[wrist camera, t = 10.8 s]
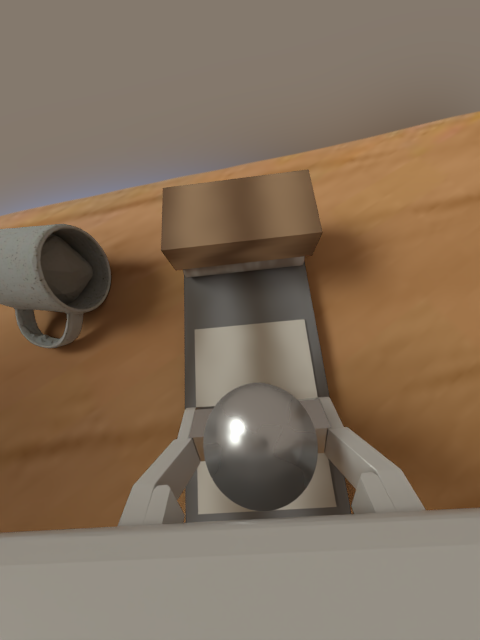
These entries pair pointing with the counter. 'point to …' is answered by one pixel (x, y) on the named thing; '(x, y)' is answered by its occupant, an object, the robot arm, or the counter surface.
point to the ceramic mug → (52, 277)
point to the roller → (260, 447)
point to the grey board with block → (249, 313)
